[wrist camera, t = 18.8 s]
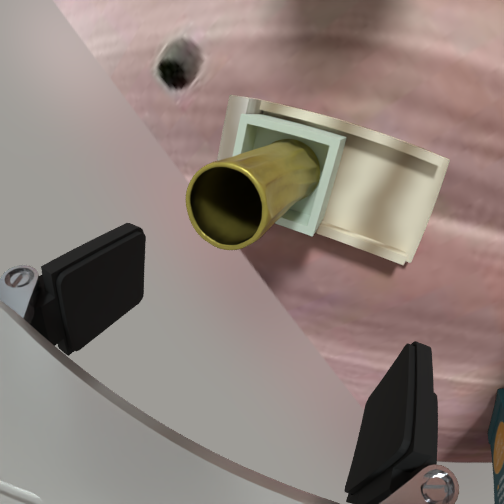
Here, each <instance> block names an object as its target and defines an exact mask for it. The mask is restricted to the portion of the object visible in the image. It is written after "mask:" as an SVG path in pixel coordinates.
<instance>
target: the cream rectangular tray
mask: <svg viewBox="0 0 504 504" xmlns="http://www.w3.org/2000/svg"><path fill="white" fill-rule="evenodd" d="M241 114H263V115H268V116H272V117H276V118H280V119H284V120H288V121H292V122H296V123H300V124H304V125H307V126H311V127H315V128H318V129H322V130H325V131H328V132H332V133H335V134H338V135H342V136H345V137H347V138H346V142H345V145H344V149H343V153H342V156H341V160H340V164H339V167H338V171H337V174H336V178H335V181H334V185H333V188H332V191H331V195H330V198H329V201H328V205H327V208H326V211H325V215H324V218H323V220H322V221H321V223H320V225H319V227H318V228H317V230H316V232H315V233H317V234H320V235H323V236H325V237H328V238H331V239H334V240H337V241H339V242H342V243H345V244H348V245H350V246H353V247H356V248H359V249H361V250H364V251H367V252H369V253H372V254H375V255H377V256H380V257H383V258H385V259H388V260H391V261H393V262H396V263H398V264H401V265H404V263H405V261H406V262H409V263H411V261H412V259H413V257H414V254H415V252H416V250H417V248H418V245H419V243H420V240H421V238H422V236H423V233H424V231H425V228H426V226H427V223H428V221H429V218H430V216H431V213H432V210H433V208H434V205H435V202H436V199H437V197H438V194H439V191H440V188H441V185H442V182H443V180H444V177H445V174H446V170H447V167H448V164H449V161H450V160H449V159H447V158H444V157H442V156H440V155H437V154H435V153H433V152H430V151H428V150H425V149H423V148H420V147H418V146H415V145H413V144H410V143H407V142H405V141H402V140H399V139H397V138H394V137H391V136H388V135H386V134H383V133H380V132H377V131H374V130H371V129H368V128H365V127H362V126H359V125H356V124H352V123H349V122H346V121H343V120H339V119H336V118H332V117H329V116H325V115H322V114H318V113H314V112H311V111H307V110H303V109H299V108H295V107H291V106H287V105H282V104H278V103H274V102H269V101H264V100H260V99H255V98H249V97H242V96H234V95H230V96H229V101H228V106H227V111H226V116H225V121H224V126H223V132H222V137H221V142H220V148H219V153H218V159H217V161H219V160H222V159H226V158H229V157H232V156H233V151H234V146H235V141H236V136H237V131H238V126H239V121H240V116H241Z"/></svg>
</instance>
